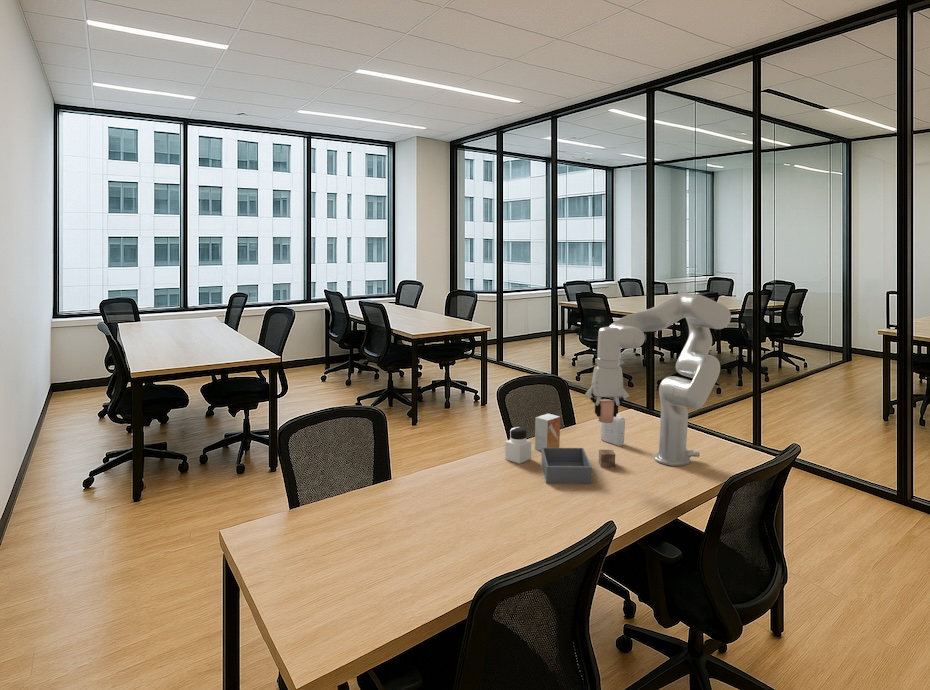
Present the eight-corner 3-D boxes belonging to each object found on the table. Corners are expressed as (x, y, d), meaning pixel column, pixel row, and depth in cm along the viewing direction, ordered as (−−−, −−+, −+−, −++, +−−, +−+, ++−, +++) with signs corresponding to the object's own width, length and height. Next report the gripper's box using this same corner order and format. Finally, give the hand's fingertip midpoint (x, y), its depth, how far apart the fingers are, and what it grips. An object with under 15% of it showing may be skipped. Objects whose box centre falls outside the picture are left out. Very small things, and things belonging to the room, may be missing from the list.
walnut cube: (612, 462, 223) (612, 449, 223) (614, 467, 218) (615, 454, 218) (598, 462, 224) (598, 449, 223) (600, 467, 219) (601, 454, 218)
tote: (582, 462, 223) (583, 447, 222) (591, 483, 204) (592, 467, 203) (541, 462, 223) (541, 447, 222) (546, 483, 205) (546, 466, 204)
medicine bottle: (531, 459, 227) (531, 428, 225) (519, 464, 222) (520, 432, 220) (516, 454, 232) (516, 424, 230) (504, 459, 227) (504, 428, 225)
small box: (547, 453, 234) (547, 420, 231) (534, 449, 238) (534, 417, 236) (560, 448, 239) (560, 416, 237) (547, 444, 244) (547, 413, 241)
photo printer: (625, 444, 242) (626, 414, 240) (618, 446, 240) (619, 416, 238) (606, 438, 251) (607, 409, 249) (598, 440, 248) (599, 410, 246)
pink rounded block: (611, 418, 210) (612, 399, 209) (615, 423, 205) (616, 403, 204) (597, 418, 210) (598, 399, 209) (600, 423, 205) (601, 402, 204)
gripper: (630, 361, 208) (628, 413, 211) (581, 361, 208) (579, 412, 211) (636, 366, 201) (633, 419, 204) (585, 365, 201) (583, 418, 204)
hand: (606, 415), depth 207 cm, fingers closed on pink rounded block, 4 cm apart
